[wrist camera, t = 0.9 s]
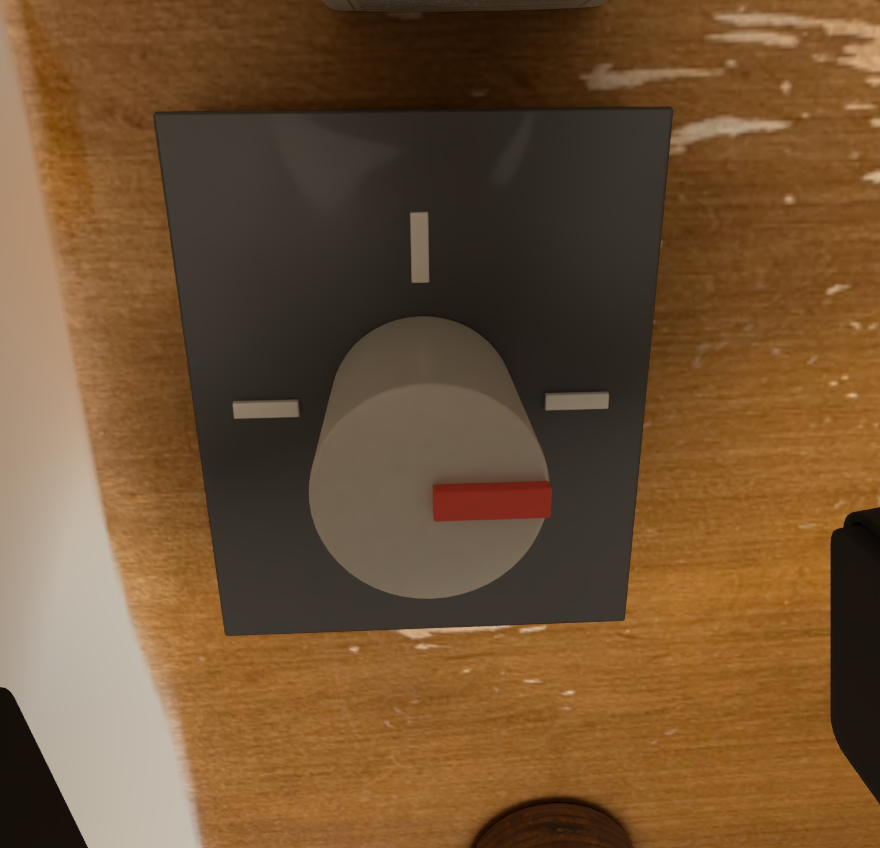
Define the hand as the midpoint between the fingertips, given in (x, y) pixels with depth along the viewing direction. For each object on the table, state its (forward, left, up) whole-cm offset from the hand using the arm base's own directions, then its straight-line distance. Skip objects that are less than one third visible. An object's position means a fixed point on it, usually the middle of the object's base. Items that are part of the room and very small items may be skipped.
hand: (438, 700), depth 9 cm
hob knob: (0, 0, -9) cm, 9 cm away
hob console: (0, 0, -12) cm, 12 cm away
